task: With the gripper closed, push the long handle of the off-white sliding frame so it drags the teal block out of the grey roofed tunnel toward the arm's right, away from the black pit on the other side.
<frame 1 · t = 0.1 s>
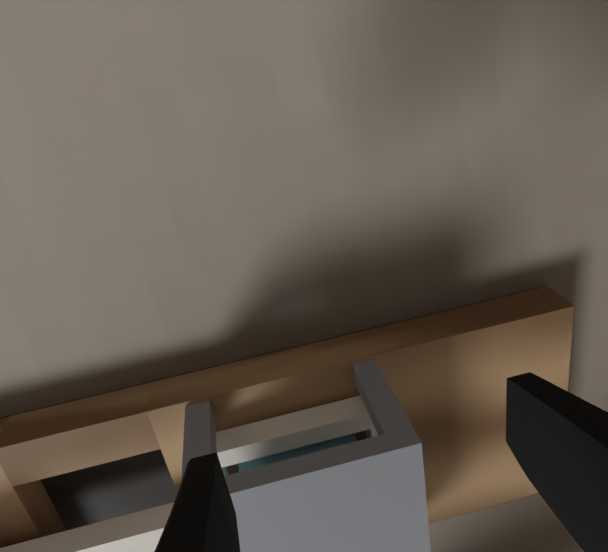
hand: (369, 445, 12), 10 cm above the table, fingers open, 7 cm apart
teal block: (302, 475, 23), point 2 cm above the table, touching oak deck
grey tunnel: (295, 444, 25), resting on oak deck
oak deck: (295, 444, 25), on the table
sliding frame: (182, 547, 21), point 4 cm above the table, slide at 0.0 cm
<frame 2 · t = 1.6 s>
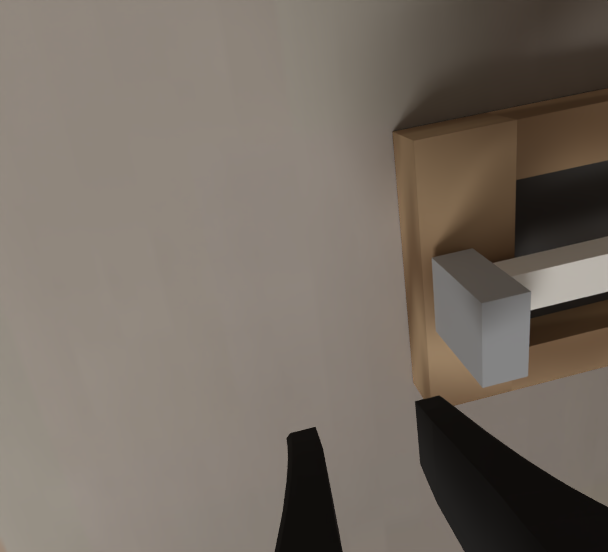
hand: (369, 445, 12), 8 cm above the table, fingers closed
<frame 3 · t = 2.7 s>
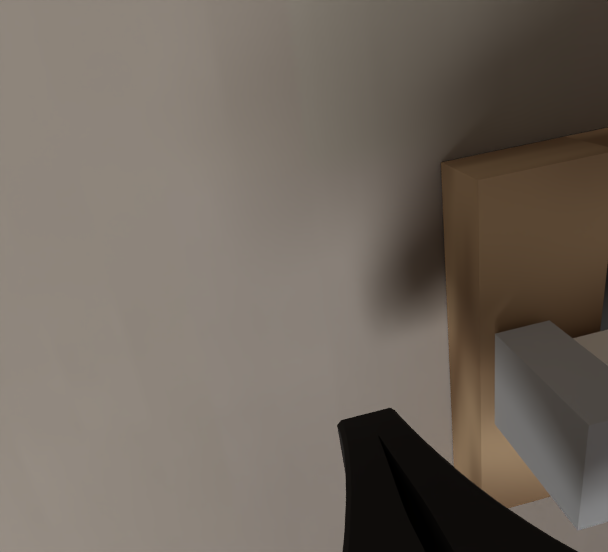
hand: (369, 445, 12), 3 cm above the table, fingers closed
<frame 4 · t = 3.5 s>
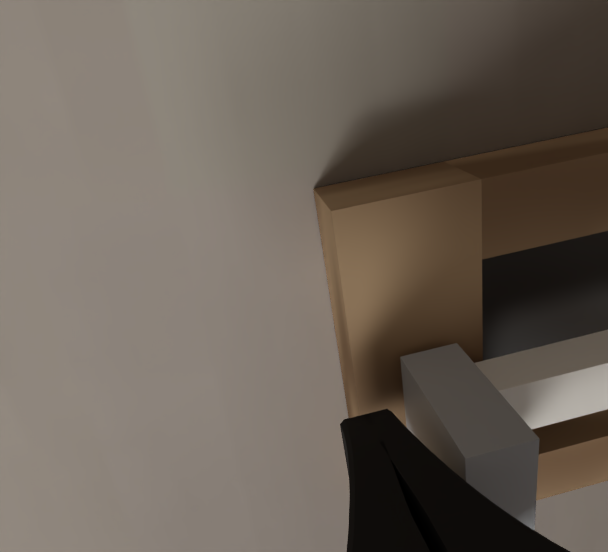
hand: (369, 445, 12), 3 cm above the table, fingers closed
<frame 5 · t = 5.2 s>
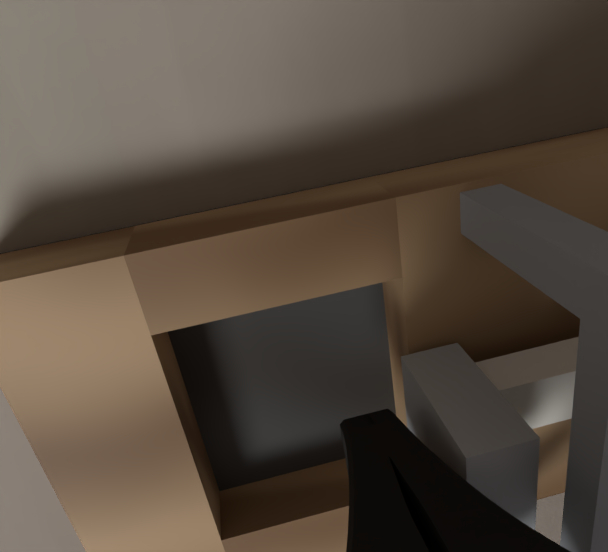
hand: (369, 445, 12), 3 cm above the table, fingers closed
grey tunnel: (555, 312, 16), resting on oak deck
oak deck: (555, 312, 16), on the table
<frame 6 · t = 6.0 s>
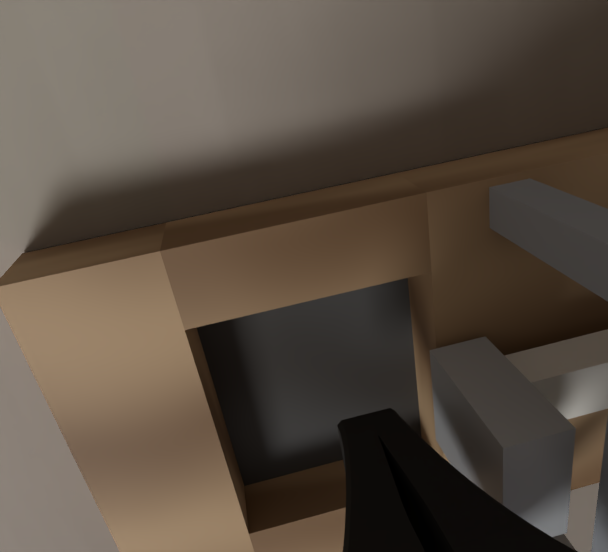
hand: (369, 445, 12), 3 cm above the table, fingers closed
grey tunnel: (577, 307, 16), resting on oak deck
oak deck: (577, 307, 16), on the table
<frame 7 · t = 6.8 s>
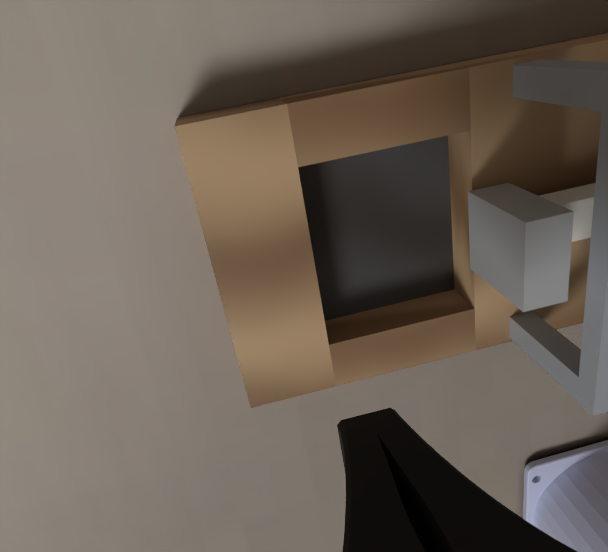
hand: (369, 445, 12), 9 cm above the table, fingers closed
grey tunnel: (574, 182, 21), resting on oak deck
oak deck: (574, 182, 21), on the table
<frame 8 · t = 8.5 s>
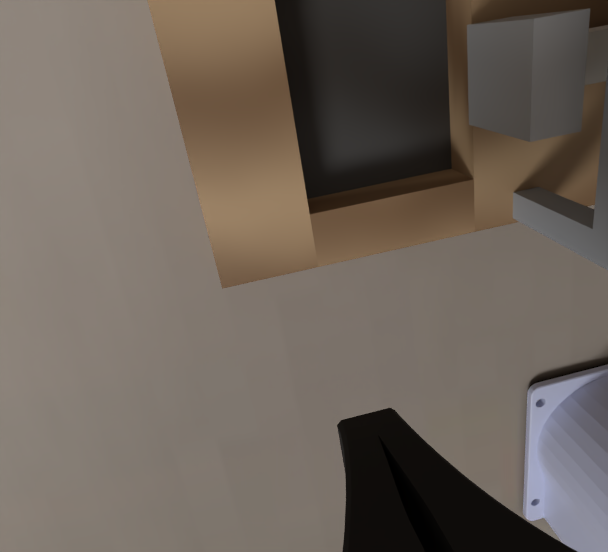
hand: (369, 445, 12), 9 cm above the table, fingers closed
grey tunnel: (586, 45, 19), resting on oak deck
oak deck: (586, 45, 19), on the table
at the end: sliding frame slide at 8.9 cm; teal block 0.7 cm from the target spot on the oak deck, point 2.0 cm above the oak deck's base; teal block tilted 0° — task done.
